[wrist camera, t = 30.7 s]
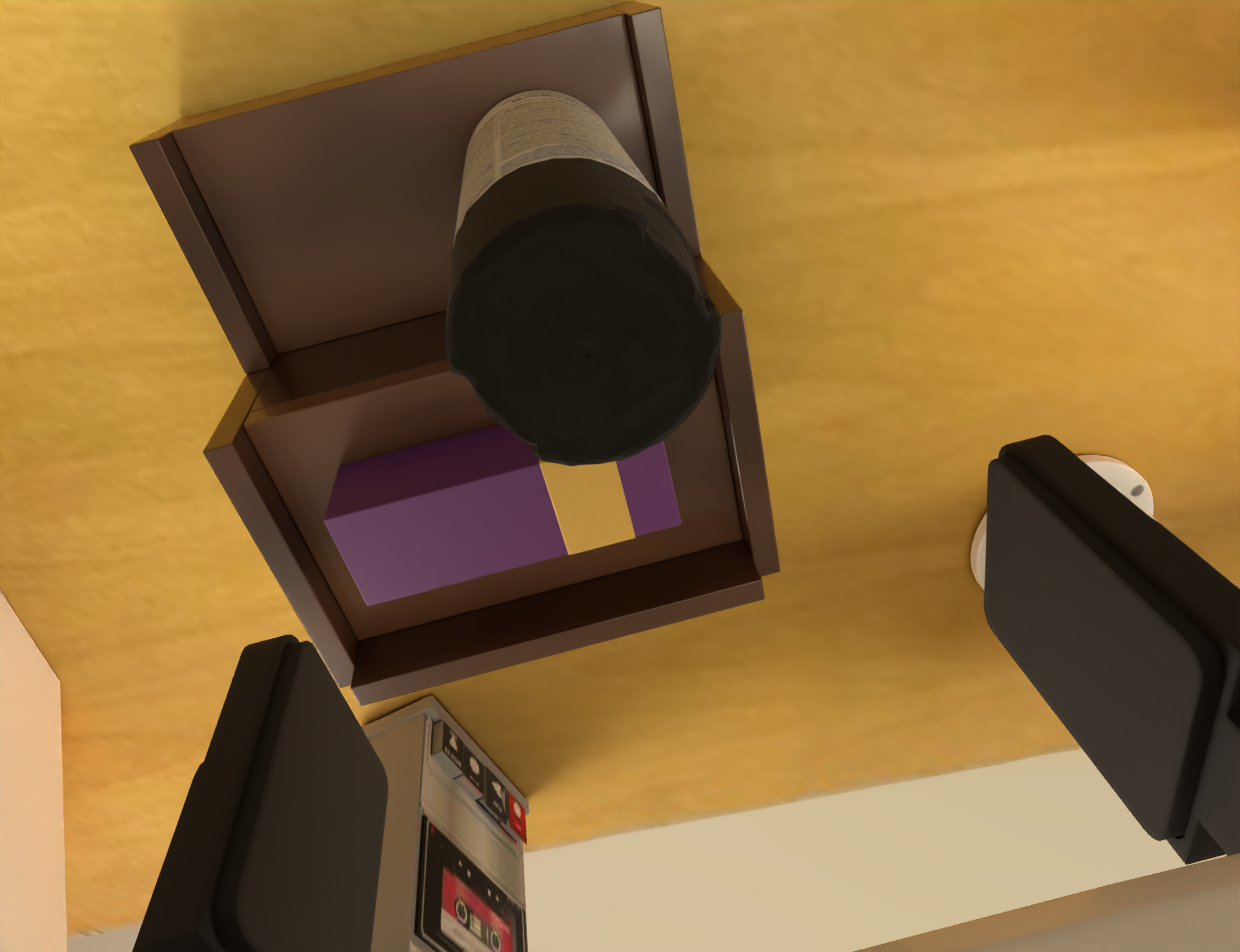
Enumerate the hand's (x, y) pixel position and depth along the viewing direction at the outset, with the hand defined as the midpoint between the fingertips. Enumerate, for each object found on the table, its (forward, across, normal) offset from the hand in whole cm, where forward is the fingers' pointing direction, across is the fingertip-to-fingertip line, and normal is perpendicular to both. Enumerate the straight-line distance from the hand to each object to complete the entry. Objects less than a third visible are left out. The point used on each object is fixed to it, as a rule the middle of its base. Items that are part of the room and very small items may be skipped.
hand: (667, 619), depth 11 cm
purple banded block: (+22, +5, +10) cm, 25 cm away
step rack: (+34, +5, +7) cm, 35 cm away
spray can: (+30, 0, 0) cm, 30 cm away
